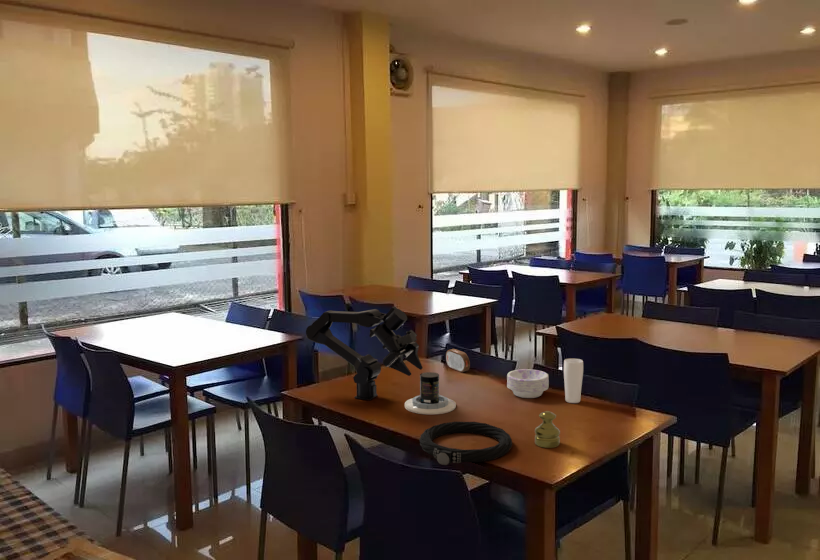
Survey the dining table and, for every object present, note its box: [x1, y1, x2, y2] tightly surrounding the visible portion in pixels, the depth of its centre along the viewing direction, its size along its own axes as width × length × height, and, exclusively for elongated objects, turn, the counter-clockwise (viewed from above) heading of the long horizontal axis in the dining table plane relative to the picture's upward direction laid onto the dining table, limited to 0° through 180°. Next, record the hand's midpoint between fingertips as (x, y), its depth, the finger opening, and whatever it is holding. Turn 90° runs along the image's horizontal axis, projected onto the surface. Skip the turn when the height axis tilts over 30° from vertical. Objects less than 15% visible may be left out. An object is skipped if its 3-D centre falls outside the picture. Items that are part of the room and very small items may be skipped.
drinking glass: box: [563, 358, 584, 404], centre depth 246 cm, size 7×7×15 cm
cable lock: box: [418, 421, 513, 466], centre depth 204 cm, size 28×4×30 cm
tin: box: [445, 348, 471, 373], centre depth 292 cm, size 15×3×8 cm, turn 30°
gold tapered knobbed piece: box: [534, 410, 561, 449], centre depth 205 cm, size 7×7×10 cm
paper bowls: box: [506, 368, 550, 399], centre depth 255 cm, size 15×15×8 cm
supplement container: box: [419, 371, 440, 404], centre depth 242 cm, size 7×7×10 cm
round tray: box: [404, 394, 457, 416], centre depth 243 cm, size 18×18×2 cm
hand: (416, 372), depth 244 cm, fingers open, 9 cm apart
